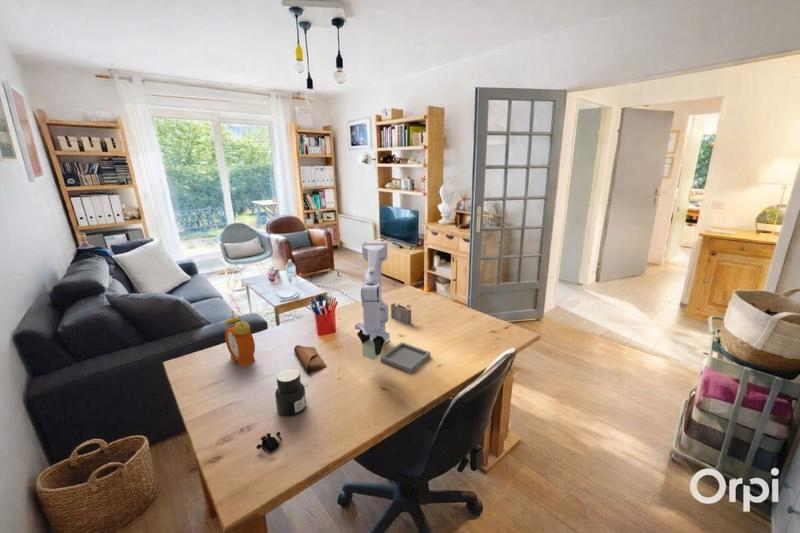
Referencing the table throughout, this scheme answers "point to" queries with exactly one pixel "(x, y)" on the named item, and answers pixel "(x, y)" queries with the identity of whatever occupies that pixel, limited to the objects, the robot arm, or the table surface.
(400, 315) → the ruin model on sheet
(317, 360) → the sunglasses case
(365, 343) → the cube
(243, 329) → the alarm clock
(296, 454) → the table surface
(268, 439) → the black knobbed ornament
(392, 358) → the tray
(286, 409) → the ink bottle
